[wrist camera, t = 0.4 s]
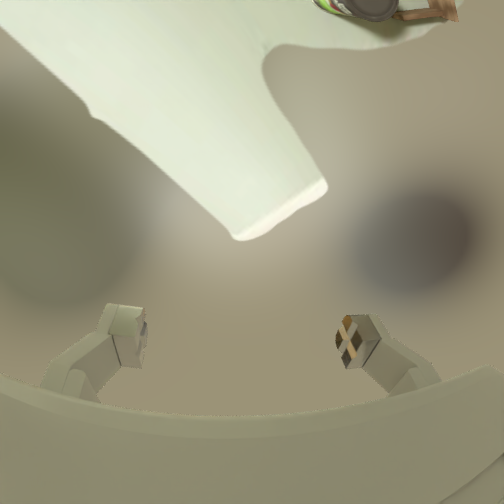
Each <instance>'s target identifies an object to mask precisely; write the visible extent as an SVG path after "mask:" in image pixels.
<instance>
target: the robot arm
mask: <svg viewBox="0 0 504 504" xmlns="http://www.w3.org/2000/svg"><path fill="white" fill-rule="evenodd" d="M145 315H146V314H145V309H144V308H141V307H133V306H126V305H117V304H110V303H108V304H107V305H106V306H105V308H104V311H103V313H102V316H101V318H100V320H99V323H98V325H97V328H96V330H95V332H91V333H89V334H88V335H86V336H85V337H84V338H82V339H81V340H79V341H78V342H77V343H75V344H74V345H72V346H71V347H70V348H68V349H67V350H66V351H64V352H63V353H61V354H60V355H59V356H57V357H56V358H54V359H53V360H52V361H51V362H50V363H49V365H48V368H47V370H46V372H45V375H44V377H43V380H42V383H41V385H40V387H38V386H35V385H31V384H29V383H26V382H23V381H20V380H18V379H15V378H12V377H10V376H7V375H5V374H3V373H0V504H504V374H503V373H502V372H500V371H499V370H498V369H496V368H495V367H493V366H491V365H488V364H487V365H483V366H480V367H478V368H476V369H473V370H471V371H468V372H466V373H463V374H461V375H458V376H456V377H453V378H450V379H447V380H445V381H442V380H441V378H440V377H439V375H438V373H437V372H436V370H435V368H434V367H433V365H432V363H431V362H429V361H428V360H426V359H425V358H423V357H422V356H420V355H419V354H417V353H416V352H414V351H413V350H411V349H410V348H408V347H407V346H405V345H404V344H402V343H401V342H399V341H398V340H396V339H395V338H391V336H390V334H389V333H388V331H387V329H386V328H385V326H384V324H383V323H382V321H381V320H380V318H379V317H378V315H376V314H366V315H365V314H363V315H346V316H345V317H344V318H343V320H342V324H343V326H342V327H341V328H339V329H338V331H337V334H336V340H335V341H336V346H337V349H338V350H339V351H340V352H341V353H343V354H342V357H341V358H342V361H343V363H344V365H345V368H346V369H352V368H362V369H363V370H365V372H367V373H368V374H369V375H370V376H371V377H372V378H373V379H374V380H375V381H376V382H377V383H378V384H379V385H381V387H383V388H384V389H385V390H386V391H387V392H388V393H389V394H388V395H387V396H386V397H385V398H384V399H379V400H375V401H370V402H365V403H361V404H355V405H350V406H344V407H338V408H332V409H325V410H318V411H310V412H301V413H290V414H279V415H260V416H200V415H182V414H170V413H160V412H150V411H143V410H136V409H130V408H123V407H117V406H111V405H106V404H102V403H101V402H100V400H99V399H98V397H97V395H96V394H97V393H98V391H99V390H100V389H101V388H102V387H103V386H104V385H105V384H106V383H107V382H108V381H109V380H110V379H111V378H112V377H113V376H114V375H115V373H116V372H117V371H118V370H119V369H120V368H121V366H124V367H131V368H142V364H143V359H144V351H143V349H144V348H145V347H146V344H147V335H148V331H147V323H146V322H145V321H144V320H145Z"/></svg>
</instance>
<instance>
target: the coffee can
mask: <svg viewBox="0 0 504 504" xmlns="http://www.w3.org/2000/svg"><path fill="white" fill-rule="evenodd" d="M311 1H312V2H313V3H314V4H315V5H316V6H317V7H318V8H319V9H321V10H323V11H325V12H328V13H332V14H341V15H346V16H352V17H357V18H362V19H365V20H368V21H372V22H380V21H384V20H387V19H389V18H390V17H392V16H393V15H394V13H395V12H396V10H397V8H398V4H399V0H311Z"/></svg>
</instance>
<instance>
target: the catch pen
mask: <svg viewBox="0 0 504 504" xmlns="http://www.w3.org/2000/svg"><path fill="white" fill-rule="evenodd" d="M428 3H429V7H430V8H423V9H414V10H406V11H399V12H395V13H394V15H393V16H392V18H395V19H399V20H403V21H407V20H413V19H420V18H428V17H438V16H439V17H442V18H445V19H448V20H452V21H454V22H458V16H457V11H456V6H455V2H454V0H428Z"/></svg>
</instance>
